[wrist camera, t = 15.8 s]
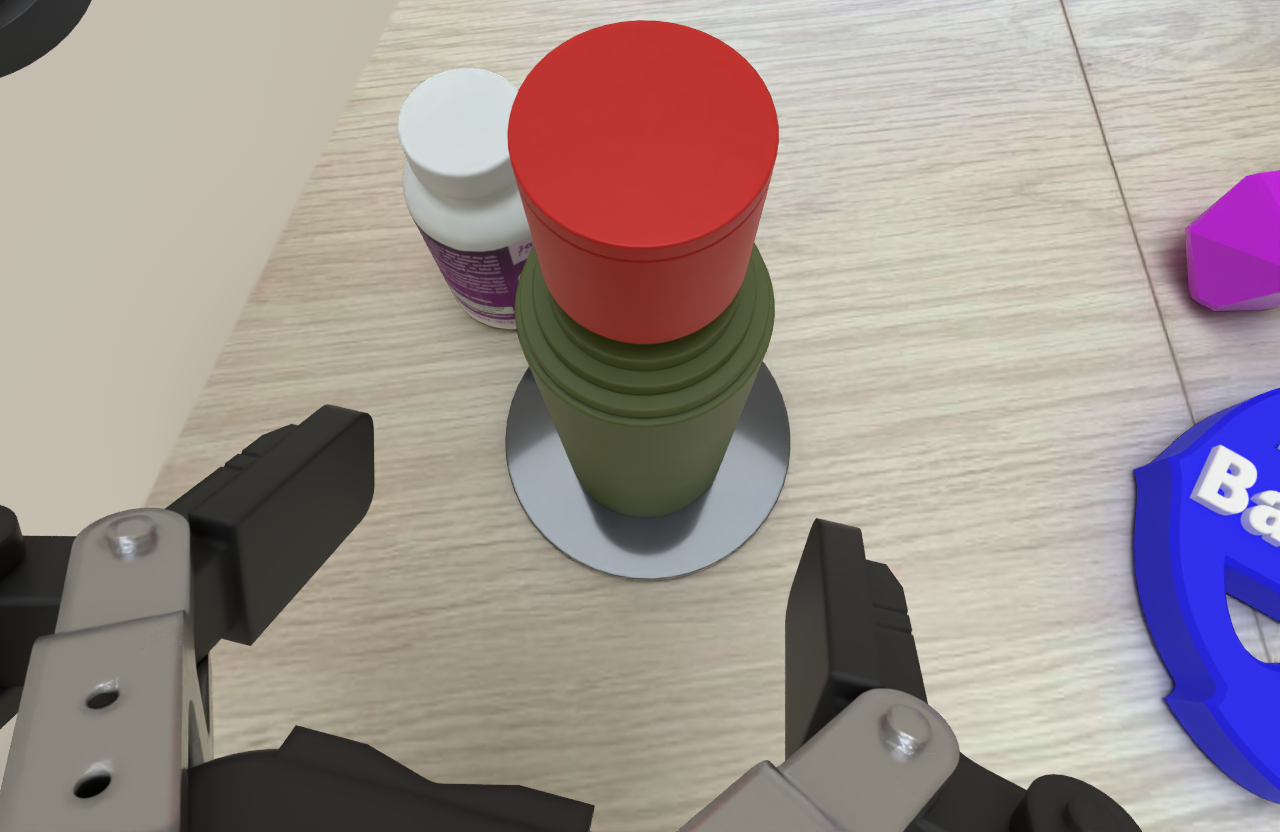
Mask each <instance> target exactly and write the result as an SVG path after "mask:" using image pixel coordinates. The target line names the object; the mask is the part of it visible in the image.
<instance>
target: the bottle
mask: <svg viewBox="0 0 1280 832" xmlns="http://www.w3.org/2000/svg"><path fill="white" fill-rule="evenodd" d="M774 317H775V301H774V294H773V287H772V283H771V279H770V276H769V273H768V270H767V268H766V265H765V263H764V261H763V259H762V257H761V255H760V252H759V250H758V248H757V246H756V245H755V243H754V244H753V248H752V252H751V256H750V260H749V263H748V267H747V271H746V274H745V277H744V280H743V283H742V285H741V287H740V289H739V291H738V293H737V294H736V296H735V297H734V299H733V300H732V302H731V303H730V304H729V306H728V307H727V308H726V309H725V310H724V311H723V312H722V313H721V314H720V315H719V316H718V317H717V318H716V319H714V320H713V321H712V322H710V323H709V324H707V325H706V326H704V327H703V328H701V329H700V330H698V331H695V332H693V333H691V334H689V335H687V336H684V337H681V338H678V339H675V340H671V341H666V342H661V343H650V344H638V343H628V342H621V341H616V340H613V339H609V338H606V337H603V336H601V335H599V334H596V333H594V332H592V331H590V330H588V329H587V328H585V327H583V326H581V325H580V324H579V323H577V322H576V321H575V320H573V319H572V318H571V317H570V316H569V315H568V314H567V313H566V312H565V311H564V310H563V309H562V308H561V307H560V306H559V305H558V303H557V302H556V301H555V299H554V298H553V296H552V295H551V293H550V291H549V289H548V287H547V285H546V282H545V280H544V277H543V274H542V271H541V267H540V264H539V260H538V257H537V253H536V250H535V246H533V248H532V250H531V252H530V253H529V256H528V258H527V261H526V263H525V265H524V268H523V270H522V273H521V275H520V279H519V283H518V287H517V291H516V300H515V322H516V328H517V333H518V338H519V341H520V344H521V347H522V350H523V352H524V355H525V357H526V360H527V362H528V364H529V367H530V369H531V371H532V374H533V376H534V378H535V381H536V383H537V386H538V388H539V390H540V393H541V395H542V397H543V400H544V402H545V404H546V407H547V409H548V412H549V414H550V416H551V419H552V421H553V423H554V426H555V428H556V430H557V433H558V435H559V437H560V440H561V442H562V445H563V447H564V449H565V452H566V454H567V456H568V459H569V461H570V463H571V466H572V468H573V471H574V473H575V475H576V477H577V478H578V480H579V482H580V483H581V485H582V486H583V488H584V489H585V490H586V491H587V492H588V493H589V494H590V495H591V496H592V497H593V498H594V499H595V500H596V501H598V502H599V503H600V504H602V505H604V506H605V507H607V508H609V509H611V510H613V511H615V512H617V513H621V514H624V515H627V516H633V517H642V518H651V517H660V516H664V515H669V514H672V513H674V512H677V511H679V510H681V509H683V508H685V507H687V506H689V505H690V504H692V503H693V502H694V501H696V500H697V499H698V498H699V497H700V496H701V495H702V494H703V493H704V492H705V491H706V490H707V489H708V487H709V486H710V485H711V483H712V482H713V480H714V479H715V477H716V475H717V473H718V470H719V468H720V466H721V463H722V461H723V458H724V456H725V453H726V451H727V448H728V446H729V443H730V441H731V438H732V436H733V433H734V431H735V428H736V426H737V423H738V421H739V418H740V416H741V413H742V411H743V408H744V406H745V403H746V401H747V398H748V396H749V393H750V391H751V388H752V386H753V383H754V381H755V378H756V376H757V373H758V371H759V368H760V366H761V363H762V361H763V358H764V356H765V353H766V351H767V348H768V346H769V342H770V339H771V335H772V331H773V325H774Z"/></svg>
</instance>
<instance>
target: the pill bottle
mask: <svg viewBox="0 0 1280 832" xmlns="http://www.w3.org/2000/svg"><path fill="white" fill-rule="evenodd" d="M518 91H519V90H518V89H517V88H516V87H515V86H514V85H513V84H512V83H511V82H510V81H509V80H507V79H506V78H504V77H502V76H501V75H499V74H497V73H494V72H491V71H488V70H485V69H479V68H457V69H451V70H447V71H444V72H441V73H438V74H436V75H434V76H432V77H430V78H428V79H426V80H425V81H423V82H422V83H421V84H419V85H418V86H417V87H416V88H415V89H414V90H413V91H412V92H411V93H410V94H409V96H408V97H407V99H406V100H405V102H404V103H403V105H402V107H401V110H400V113H399V117H398V123H397V130H398V136H399V140H400V143H401V146H402V148H403V151H404V153H405V156H406V158H407V160H406V163H405V167H404V174H403V190H404V196H405V199H406V203H407V207H408V209H409V212H410V214H411V216H412V218H413V220H414V222H415V224H416V225H417V227H418V229H419V231H420V233H421V235H422V236H423V238H424V240H425V242H426V244H427V246H428V248H429V250H430V252H431V254H432V256H433V258H434V259H435V261H436V263H437V265H438V267H439V269H440V271H441V273H442V274H443V276H444V278H445V280H446V282H447V283H448V285H449V287H450V289H451V291H452V293H453V294H454V296H455V298H456V299H457V301H458V303H459V304H460V305H461V307H462V308H463V309H464V310H465V311H466V312H467V313H468V314H469V315H470V316H471V317H473V318H474V319H476V320H478V321H480V322H482V323H484V324H487V325H489V326H492V327H497V328H503V329H517V328H516V322H515V300H516V291H517V287H518V283H519V279H520V275H521V273H522V270H523V268H524V265H525V263H526V261H527V258H528V256H529V253H530V252H531V250H532V248H533V246H534V243H533V239H532V236H531V232H530V229H529V225H528V222H527V218H526V214H525V211H524V207H523V204H522V200H521V197H520V193H519V190H518V186H517V183H516V179H515V176H514V172H513V169H512V165H511V161H510V156H509V151H508V139H507V131H508V122H509V116H510V112H511V109H512V105H513V102H514V100H515V98H516V95H517V93H518Z"/></svg>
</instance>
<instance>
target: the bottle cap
mask: <svg viewBox="0 0 1280 832" xmlns="http://www.w3.org/2000/svg"><path fill="white" fill-rule="evenodd" d="M507 139H508V151H509V156H510V161H511V165H512V169H513V172H514V176H515V179H516V183H517V186H518V190H519V193H520V197H521V200H522V204H523V207H524V211H525V214H526V218H527V222H528V225H529V229H530V232H531V236H532V239H533V243H534V246H535V250H536V253H537V257H538V260H539V264H540V267H541V271H542V274H543V277H544V280H545V282H546V285H547V287H548V289H549V291H550V293H551V295H552V296H553V298H554V299H555V301H556V302H557V303H558V305H559V306H560V307H561V308H562V309H563V310H564V311H565V312H566V313H567V314H568V315H569V316H570V317H571V318H572V319H573V320H575V321H576V322H577V323H579V324H580V325H581V326H583V327H585V328H587V329H588V330H590V331H592V332H594V333H596V334H599V335H601V336H603V337H606V338H609V339H613V340H616V341H621V342H628V343H638V344H650V343H661V342H666V341H671V340H675V339H678V338H681V337H684V336H687V335H689V334H691V333H693V332H695V331H698V330H700V329H701V328H703V327H704V326H706V325H707V324H709V323H710V322H712V321H713V320H714V319H716V318H717V317H718V316H719V315H720V314H721V313H722V312H723V311H724V310H725V309H726V308H727V307H728V306H729V304H730V303H731V302H732V300H733V299H734V297H735V296H736V294H737V293H738V291H739V289H740V287H741V285H742V283H743V280H744V277H745V274H746V271H747V267H748V263H749V260H750V256H751V252H752V248H753V244H754V241H755V237H756V233H757V229H758V225H759V221H760V218H761V214H762V210H763V206H764V202H765V199H766V195H767V191H768V187H769V183H770V179H771V176H772V171H773V168H774V164H775V160H776V157H777V150H778V143H779V125H778V120H777V114H776V110H775V107H774V104H773V101H772V98H771V95H770V93H769V91H768V89H767V87H766V85H765V83H764V82H763V80H762V79H761V77H760V76H759V74H758V73H757V72H756V70H755V69H754V68H753V67H752V66H751V65H750V64H749V63H748V61H747V60H746V59H745V58H744V57H742V56H741V55H740V54H739V53H738V52H736V51H735V50H734V49H733V48H731V47H730V46H728V45H727V44H725V43H724V42H722V41H721V40H719V39H717V38H715V37H713V36H711V35H709V34H707V33H705V32H702V31H699V30H696V29H694V28H691V27H688V26H683V25H679V24H675V23H669V22H661V21H642V20H639V21H626V22H619V23H614V24H608V25H604V26H601V27H598V28H594V29H591V30H588V31H586V32H584V33H581V34H579V35H577V36H575V37H573V38H571V39H569V40H567V41H566V42H564V43H562V44H561V45H559V46H558V47H556V48H555V49H554V50H552V51H551V52H550V53H548V54H547V55H546V56H545V57H544V58H543V59H542V60H541V61H540V62H539V63H538V64H537V65H536V66H535V67H534V68H533V70H532V71H531V72H530V73H529V74H528V76H527V77H526V79H525V80H524V82H523V84H522V85H521V87H520V89H519V91H518V93H517V95H516V98H515V100H514V102H513V105H512V109H511V112H510V116H509V122H508V131H507Z"/></svg>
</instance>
